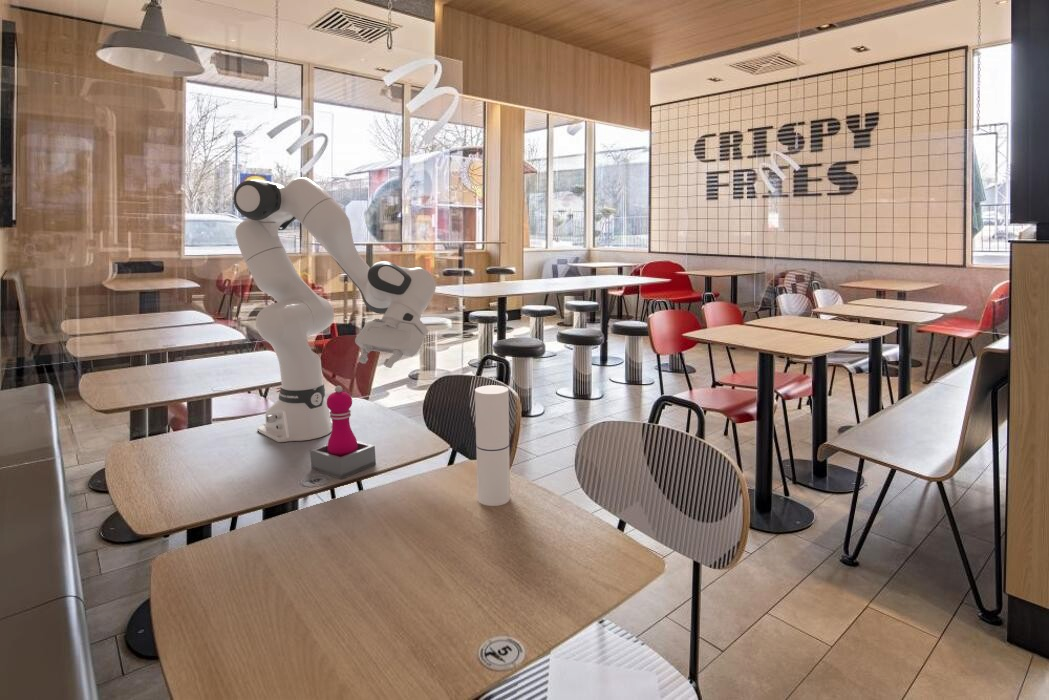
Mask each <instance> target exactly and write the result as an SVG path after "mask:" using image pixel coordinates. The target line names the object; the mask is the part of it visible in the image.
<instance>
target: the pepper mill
mask: <svg viewBox="0 0 1049 700" xmlns="http://www.w3.org/2000/svg"><path fill="white" fill-rule="evenodd" d="M334 391H335V392H332V393H330V394H329V396H328V397H327V399H326V400H327V407H328V409H329V415H330V420H331V421H332V427H331V428H332V431H331V432H330V436H329V438H328V441H327V444H328V452H329V453H330V454H331V455H335V456H338V457H343V456H345V455H348V454H350V453H353V452H355V451H356V450H357V448H358V445H357V441H358V440H357V438H356V436H355V434H354V431H352V427H351V423H350V417H352V414H351V412H352V411H351V407H352V405H353V399H352V396H351V394H349V393H348V392H347V391H343V387H342V386H341V385H336V386H335V387H334Z"/></svg>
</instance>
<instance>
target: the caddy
mask: <svg viewBox="0 0 1049 700" xmlns="http://www.w3.org/2000/svg"><path fill="white" fill-rule="evenodd" d="M357 445H358V448H357V450H356V451H355V452H353V453H350V454H348V455H345V456H343V457H338V456H335V455H331V454H330V453H329V452H328V443H326V444H324V445H322V446H318V447H316V448H312V449H311V450H309V455H310V456H309V457H310V466H311V468H310V469H311V470H312V471H315V472H318V473H321V474H324V475H326V476H331V477H334V478H337V479H339V480H343V479H345V478H347V477H351V476H353V475H354V474H357V473H359V472H361V471H364V470H366V469H369V468H371V467H373V466H375V465H376V464H377V461H376V446H375V445H373V444H370V443H367V442H363V441H359V440H357Z"/></svg>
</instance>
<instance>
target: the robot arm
mask: <svg viewBox="0 0 1049 700" xmlns="http://www.w3.org/2000/svg"><path fill="white" fill-rule="evenodd" d="M233 204H234V207H235V209H236V211H238V213H240V214H241V215H242V216H243V217H245V218H246V219H245V220H243V221H241V222H240V223H239V224H238V225H237V226H236V229H235V233H234V234H235V238H236V242H237V245H238V248H239V251H240V254H241V256H242V258H243V260H244V263H245V264H246V266H247V269H248V271H249V273H250V275H251V276H252V279H253V280H254V282H255V284H256V287H257V288H258V289H259V290H260V291H261V292H263V293H264V294H266V295H268V296H270V297H271V298H272V299H274V300H275V301H276V302H274V303H272V304H270V305H267V306H266V307H264V308H262V309H260V311H259V312H258V313H257V315H256V318H255V326H256V330H257V333H258V335H260V337H261V338H262V339H263V340H265V341H266V342H267V343H269V345H270V346H272V348H273V350H274V352H275V355H276V357H277V361H278V364H279V374H280V382H281V386H279V387H277V388H276V393H278V392H279V394H278V399H277V401H275V402H274V403H273V404H272V405H271V406H269V408H267V410H266V411H265V423H263V424H261V425H260V426H258V427H257V432H258V431H259V433H261V434H262V435H265V437H268V438H269V439H271V440H273V441H275V442H277V443H284V442H293V441H295V442H298V441H299V442H300V441H301V442H302V441H309V440H315V439H319V438H321V437H325V436H327V435H329V434H331V432H332V420H331V418H330V409H329V408H328V407H327V399H326V398H325V396H326V387H325V384H324V383H323V373H322V372H323V371H322V361H321V357H320V356H319V355H318V354H317V353H316V352H314V351H313V350H312V349H311V348H312V347H311V346H310V344H309V341H308V337H310V336H313V335H317V334H320V333H322V332H323V331H325V330H327V329H328V328H329V327H331V326H332V324H333V322H334V320H335V310H334V307H333V305H332V303H330V302H329V300H328V299H326V298H324V297H322V296H320V295H319V294H317V293H316V291H314V290H313V289H312V288H311V287H310V286H309V285H308V284H307V283H306V281H304V279H303V278H302V277H301V276H300V274H299V273H298V271H297V269H296V267H295V266H294V263H293V262H292V260H291V258H290V256H289V254H288V253H287V251H286V249H285V246H284V244H283V243H282V241H281V239H280V237H279V231H284V230H285V229H287V227H289V225H290V224H291V223H293V222H294V221H295V220H297V221H298V222H299V223H300V224H301V225H302V226H303V227H304V229H306V230H307V231H308V233H310V234H311V236H312V237H313V239H315V240H316V241H317V242H318V243H319V244H320V245H321V246H322V247H323V248H324V249H325V251H326V252H327V253H328V254H329V255H330V256H331V257H332V258H333V260H334V261H335V262H336V264H337V265H338V266H339V268H340V269H341V270H342V271H343V272H344V273H345V275H346V276H347V277H348V278H349V279H350V280H351V282H352V283H353V285H354V286H355V287H356V288H357V289H358V291H359V292H360V295H361V297H362V302H364V305H365V307H366V308H367V309H368V310H370V312H373V313H375V314H379V315H382V314H383V316H382V317H381V319H380V318H374V319H373V320H371V321H368V322H367V323H366V324H365V325H364V326H363V327H362V329H361V330H360V331H359V333H358V334H357V335H356V337H355V340H354V342H355V344H356V345H357V346H358V347H359V348H360V355H359V357H358V358H357V360H358V362H359V363H360V364H367V362H368V361H369V358H368V354H370V352H371V351H373V352H379V353H385V354H386V353H387V354H391V356H390V357H389V358H386V359H385V360H384V362H383V366H385V368H388V369H392V367H393V366H394V365H395V363H397V362H399V360H401V359H402V357H403V356H404V357H411V358H412V357H413V356H415V355H417V354H418V353H419V350H420V349H421V347H422V345H423V343H424V341H425V337H426V336H427V335H428V334H429V329H428V328H427V326H426V325H425V324H424V322H422V320H421V317H422V314H423V313H424V311H426V309H427V308H428V306H429V305H430V303H431V301H432V299H433V297H434V294H435V292H436V289H437V283H436V280H435V278H434V276H433V275H432V274H431V273H430V272H429V271H428V270H426V269H424V268H422V267H419V266H418V267H412V268H410V267H403V266H400V265H397V264H395V263H393V262H390V261H386V260H384V261H377V262H375V263H374V264H372V265H371V267H370V266H369V265H368V264H367V262H366V261H365V259H364V258H362V256H361V255H360V254H359V252H358V251H357V248H356V245H355V243H354V238H353V233H352V226H351V222H350V218H349V217H348V215H347V214H346V212H345V210H344V209H343V207H342V206H341V205H340V204H339V203H338V202H337V201H336V200H335V198H333V197H332V195H331V194H329V193H328V192H327V191H326V190H325V189H324V188H322V187H321V186H320V185H319V184H317V183H316V182H315V181H313V180H311V179H310V178H308V177H303V176H302V177H297V178H294V179H293V180H291V181H290V182H288V183H287V184H286V185H282V184H280V183H277V182H273V181H266V180H262V179H248V180H245V181H244V180H243V182H240V183H239V184H238V185H237V187H235V189H234V191H233Z"/></svg>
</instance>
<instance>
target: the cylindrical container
mask: <svg viewBox="0 0 1049 700" xmlns="http://www.w3.org/2000/svg"><path fill="white" fill-rule="evenodd" d="M509 395H510V393H509V388H508V387H506V386H503V385H492V384H489V385H482V386H478V387H476V388H474V404H475V405H474V406H475V409H474V410H475V411H474V412H475V443H476V444H475V447H476V450H475V451H476V453H475V454H476V479H477V480H476V481H477V482H476V487H477V488H476V489H477V501H478V503H479V504H481V505H483V506H489V507H498V506H503V505H505V504H507V503H509V502H510V500H511V485H510V484H511V482H510V481H511V480H510V476H511V475H510V468H511V467H510V414H509V413H510V407H509V405H510V403H509V401H510V399H509Z"/></svg>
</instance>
